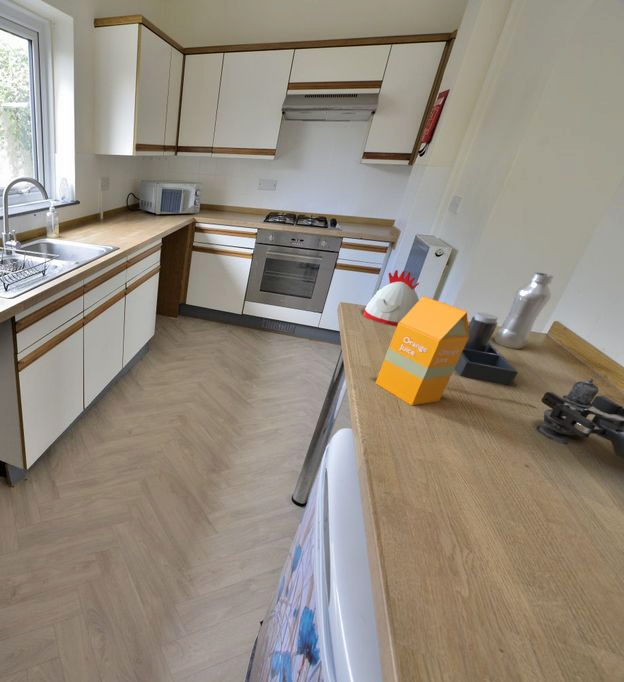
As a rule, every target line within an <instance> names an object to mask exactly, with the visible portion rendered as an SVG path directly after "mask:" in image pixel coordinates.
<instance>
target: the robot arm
mask: <svg viewBox="0 0 624 682" xmlns="http://www.w3.org/2000/svg"><path fill="white" fill-rule="evenodd" d="M541 403H542V404H544V405H546V407H548V408H549V409H553V411H552V412H551V414H550V415H549V416H550V417H551V418H553V419H554V420H556V421H557V422H559V423H560V424H562V425H564V426H565V427H567V428H568V429H570V430H571V431H573V432H575V433H576V434H577V435H578V436H580V438H581V437H582V438H586V439H587V438H589V437H590V435H591V434H594V435H597V437H599V438H602V439H604V440H607V441H609V442H610V443H611V446H612V449H613V452H614V455H615V456H616V457H617V458H619V459H620V460H622V461H623V462H624V406H622V405H620V404H618V403H617V402H615V401H613V400H612V399H610V398H607V397H605V396H604V395H596V396H595V397H594V399H593V400H592V402H591V404H592V407H586V408H581V407H579V406H576V405H573V404H571V403H569V402H568V401H566V400H564V398H563V397H561V396H560V395H558V394H556V393H554V392H552V391H545V393H544V395H543V396H542V397H541ZM573 410H575V411H577V412H580V413H581V415H580V414H578V413H576V412H575V411H573ZM589 415H593V418H592V419H590V418H588V417H589Z"/></svg>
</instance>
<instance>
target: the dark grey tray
mask: <svg viewBox="0 0 624 682" xmlns="http://www.w3.org/2000/svg"><path fill="white" fill-rule="evenodd" d="M454 370H456V372H457V373H458V375H459V376H460V377H463V378H469V379H473V380H478V381H483V382H488V383H494V384H498V385H503V386H509V387H511V386H512V384H513V382H514V380H515V378H516V377H517V374H518V373H519V372H518V370H517V369H516V368H515V367H514V366H513V365H512V364H511V363H510V362H509V361H508V360H507V358H505V357H504V356H503V354H502V353H501V352H500V351H499V350H498V349H497V348H496V347H495V346H494V345H493V344H492V342H490V341H489V342H488V344H487V346H486V349H485V351H484V352H482V351H477V350H471V349H466V348H464V349H463V351H462V353H461V355H460V357H459V360H458V362H457V364H456V367H455V369H454Z"/></svg>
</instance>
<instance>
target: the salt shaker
mask: <svg viewBox="0 0 624 682" xmlns="http://www.w3.org/2000/svg"><path fill="white" fill-rule="evenodd" d="M594 382H595V381H594V379H593V378H589V379H587V381H577V382H575V383H574V385H573V386H572V388H571V389H570V391H569V393H568V394H566V395H563V396H562V398H563V399H564V400H566V401H568V402H569V403H571V404H573V405H576V406H579V407H581V408H586V407H590V408H593V406H592V404H591V403H592V401H593V400H594V398H595V397H596V396H597V394H598V392H599V387H598V386H597V385H595V384H594ZM552 411H553V409H552V408H549V409H545V410H543V422H544V424H540V425H537V426H536V430H537V432H538V433H540V434H541V435H542V436H544V437H546V438H548V439H550V440H552V441H555V442H558V443H561V444H564V445H565V444H566V445H568V444H569V443H568V442H567V441H566V440H565V439H564V438H563V436H577V435H578V434H576V433H575V432H573V431H571V430H570V429H568V428H567V427H565V426H564V425H562V424H560V423H559V422H557V421H556V420H554V419H553V418H551V417H550V416H549V415H550V414H551V412H552ZM573 411H575V410H573ZM575 412H576V413H578V414H580V415H581V413H580V412H577V411H575Z"/></svg>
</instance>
